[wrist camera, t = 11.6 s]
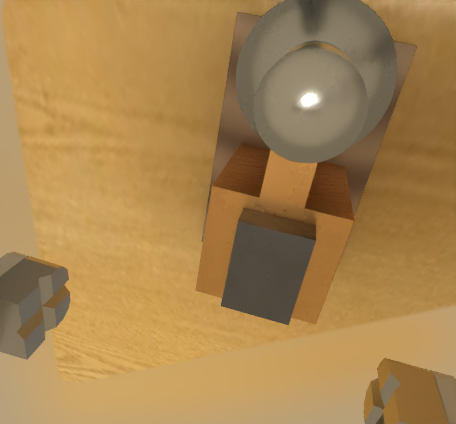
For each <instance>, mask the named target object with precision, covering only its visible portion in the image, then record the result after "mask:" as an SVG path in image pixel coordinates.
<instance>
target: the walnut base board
mask: <svg viewBox="0 0 456 424" xmlns="http://www.w3.org/2000/svg"><path fill="white" fill-rule="evenodd" d="M261 17H262V16H257V15H252V14H246V13H241V12H237V18H236V24H235V30H234V37H233V43H232V50H231V56H230V63H229V69H228V75H227V82H226V88H225V95H224V101H223V108H222V114H221V120H220V127H219V133H218V140H217V146H216V153H215V159H214V166H213V172H212V178H211V185H210V191H209V198H208V204H207V211H206V217H205V223H204V230H203V236H202V242H203V240H204V234H205V228H206V221H207V215H208V209H209V202H210V196H211V190H212V185H213V184H214V182H215V181H216V179H217V178H218V176H219V175H220V173H221V172H222V170H223V169H224V167H225V166H226V164H227V163H228V161H229V160H230V158H231V157H232V155H233V154H234V152H235V151H236V149H237V148H238V146H239V145H240V143H244V144H248V145H252V146H257V147H261V148H265V149H270V148H269V147H268V146H267V145H266V144H265V142H264V141H263V140H262V139H261V138H260V137H259V136H258V135H257V134H256V133H255V132H254V131H253V129H252V128H251V127H250V125H249V124H248V122H247V120H246V119H245V117H244V115H243V113H242V110H241V108H240V105H239V101H238V97H237V91H236V69H237V63H238V59H239V55H240V52H241V49H242V46H243V44H244V42H245V40H246V38H247V36H248V34H249V33H250V31H251V30H252V28H253V27H254V25H255V24H256V23H257V22H258V21H259V20H260V18H261ZM393 42H394V46H395V50H396V55H397V64H398V66H397V80H396V87H395V90H394V94H393V97H392V100H391V102H390V104H389V106H388V109H387V110H386V112H385V114H384V115H383V117H382V118H381V120H380V121H379V122H378V124H377V125H376V126H375V127H374V128H373V129H372V130H371V131H370V133H369V134H368V135H366V136H365V137H364V138H363V139H361V140H360V141H359V142H357V143H355V144H354V145H352V146H351V147H349V148H347V149H346V150H345V151H343V152H342V153H340V154H339V155H337V156H335V157H333V158H331V159H329V160H326V161H323V162H326V163H331V164H335V165H340V166H344V167H345V168H346V174H347V180H348V186H349V191H350V197H351V203H352V209H353V215H355V212H356V209H357V207H358V204H359V201H360V199H361V196H362V193H363V190H364V188H365V185H366V182H367V180H368V177H369V174H370V172H371V169H372V166H373V164H374V161H375V158H376V156H377V153H378V150H379V147H380V145H381V142H382V139H383V137H384V134H385V131H386V129H387V126H388V123H389V121H390V118H391V115H392V113H393V110H394V107H395V104H396V102H397V99H398V96H399V94H400V91H401V88H402V86H403V83H404V80H405V78H406V75H407V72H408V70H409V67H410V64H411V61H412V59H413V56H414V53H415V51H416V48H417V46H416V45H411V44H406V43H400V42H395V41H393ZM270 150H271V149H270Z"/></svg>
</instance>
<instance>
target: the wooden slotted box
mask: <svg viewBox="0 0 456 424" xmlns="http://www.w3.org/2000/svg"><path fill="white" fill-rule="evenodd" d="M397 66H398V64H397V55H396V50H395V46H394V42H393V40H392V37H391V35H390V32H389V30H388V29H387V27H386V25H385V24H384V22H383V21H382V20H381V18H380V17H379V16H378V15H377V14H376V12H374V11H373V10H372V9H371V8H370V7H369V6H368V5H366V4H364V3H363V2H361V1H360V0H284V1H282V2H280V3H279V4H277V5H276V6H274V7H273V8H272V9H270V10H269V11H268V12H267V13H266V14H265V15H263V16H262V17H261V18H260V20H259V21H258V22H257V23H256V24H255V25H254V27H253V28H252V30H251V31H250V33H249V34H248V36H247V38H246V40H245V42H244V44H243V46H242V49H241V52H240V55H239V59H238V63H237V69H236V91H237V97H238V101H239V105H240V108H241V110H242V113H243V115H244V117H245V119H246V120H247V122H248V124H249V125H250V127H251V128H252V129H253V131H254V132H255V133H256V134H257V135H258V136H259V137H260V138H261V139H262V140H263V141H264V142H265V144H266V145H267V146H268V147H269V148H270V149H271V150H270V149H265V148H261V147H257V146H252V145H248V144H244V143H240V145H239V146H238V148H237V149H236V151H235V152H234V154H233V155H232V157H231V158H230V160H229V161H228V163H227V164H226V166H225V167H224V169H223V170H222V172H221V173H220V175H219V176H218V178H217V179H216V181H215V182H214V184H213V185H212V190H211V196H210V202H209V209H208V215H207V221H206V228H205V234H204V240H203V247H202V253H201V259H200V266H199V272H198V278H197V285H196V291H199V292H203V293H206V294H210V295H213V296H217V297H220V298H222V297H223V292H224V287H225V282H226V277H227V273H228V268H229V263H230V258H231V253H232V248H233V243H234V238H235V233H236V228H237V223H238V220H239V217H240V215H241V212H242V210H243V208H247V209H251V210H255V211H259V212H263V213H267V214H271V215H275V216H280V217H284V218H288V219H292V220H296V221H300V222H304V223H308V224H312V225H316V242H315V245H314V249H313V252H312V255H311V258H310V261H309V264H308V267H307V270H306V273H305V276H304V279H303V282H302V285H301V288H300V291H299V294H298V297H297V301H296V304H295V307H294V310H293V313H292V316H291V317H292V318H295V319H299V320H303V321H306V322H310V323H313V324H316V322H317V320H318V317H319V314H320V312H321V309H322V306H323V304H324V301H325V298H326V296H327V293H328V290H329V288H330V285H331V282H332V280H333V277H334V274H335V272H336V269H337V266H338V264H339V261H340V258H341V256H342V253H343V250H344V248H345V245H346V242H347V240H348V237H349V234H350V232H351V229H352V226H353V224H354V215H353V209H352V203H351V197H350V191H349V186H348V180H347V174H346V168H345V167H344V166H340V165H335V164H331V163H326V162H323V161H326V160H329V159H331V158H333V157H335V156H337V155H339V154H340V153H342V152H343V151H345V150H346V149H347V148H349V147H351V146H352V145H354V144H355V143H357V142H359V141H360V140H361V139H363V138H364V137H365V136H366V135H368V134H369V133H370V131H371V130H372V129H373V128H374V127H375V126H376V125H377V124H378V122H379V121H380V120H381V118H382V117H383V115H384V114H385V112H386V110H387V109H388V106H389V104H390V102H391V100H392V97H393V94H394V90H395V87H396V80H397Z"/></svg>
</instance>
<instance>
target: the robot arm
mask: <svg viewBox="0 0 456 424" xmlns="http://www.w3.org/2000/svg"><path fill="white" fill-rule="evenodd" d="M68 280H69V277H68V269H66V268H64V267H63V266H59V265H56V264H53V263H50V262H47V261H43V260H40V259H37V258H34V257H29V256H25V255H23V254H20V253H16V252H10V253H7V254H5V255H4V256H3V257H1V258H0V352H3V353H6V354H10V355H13V356H17V357H20V358H24V359H28V358H29V357H30V356H31V355H32V354H33V352H34V351H35V350H36V349H37V348H38V347H39V346H40V345H41V344H42V343H43V341H44V340H45V332H46V331H48V330H50V329H53V328H55V327H57V326H58V325H59V323H60V322H61V321H62V320H63V319H64V317H65V315H66V313H67V311H68V308H69V303H70V292H69V291H68V289H67V288H66V287H65V285H64V284H65V283H66V282H67V281H68ZM377 371H378V378H377V379H375V380H373V381H371V382H370V385H369V387H368V389H367V392H366V397H365V401H364V420H365V421H364V422H365V424H456V379H455V378H454V377H453V376H450V375H446V374H442V373H439V372H434V371H431V370H430V371H429V370H427V369H423V368H420V367H416V366H412V365H409V364H405V363H401V362H398V361H394V360H391V359H387V358H384V359H383V360H382V361H381V363H380V364H379V366H378V368H377Z"/></svg>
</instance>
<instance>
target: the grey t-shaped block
mask: <svg viewBox="0 0 456 424" xmlns="http://www.w3.org/2000/svg"><path fill="white" fill-rule="evenodd" d="M315 242H316V225H312V224H308V223H304V222H300V221H296V220H292V219H288V218H284V217H280V216H275V215H271V214H267V213H263V212H259V211H255V210H251V209H247V208H243V210H242V212H241V215H240V217H239V220H238V223H237V228H236V233H235V238H234V243H233V248H232V253H231V258H230V263H229V268H228V273H227V277H226V282H225V287H224V292H223V297H222V302H221V306H223V307H226V308H230V309H233V310H237V311H240V312H244V313H247V314H251V315H255V316H258V317H262V318H265V319H269V320H272V321H276V322H279V323H283V324H286V325H289V322H290V319H291V316H292V313H293V310H294V307H295V304H296V301H297V297H298V294H299V291H300V288H301V285H302V282H303V279H304V276H305V273H306V270H307V267H308V264H309V261H310V258H311V255H312V252H313V249H314V245H315Z"/></svg>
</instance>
